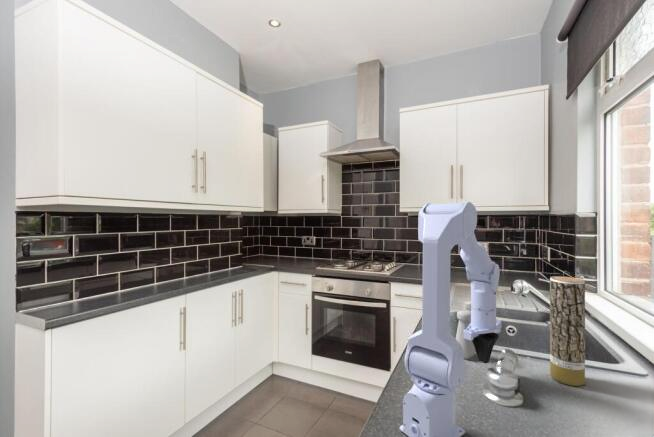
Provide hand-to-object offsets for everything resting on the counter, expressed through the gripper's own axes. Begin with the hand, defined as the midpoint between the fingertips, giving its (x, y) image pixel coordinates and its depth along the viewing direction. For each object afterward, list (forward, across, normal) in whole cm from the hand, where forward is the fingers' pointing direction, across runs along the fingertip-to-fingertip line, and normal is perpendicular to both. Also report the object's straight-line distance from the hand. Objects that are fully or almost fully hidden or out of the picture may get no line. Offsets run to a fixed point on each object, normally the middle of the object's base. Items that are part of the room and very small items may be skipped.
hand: (483, 361), depth 78 cm
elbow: (+1, -1, -5) cm, 6 cm away
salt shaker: (+4, +7, +9) cm, 12 cm away
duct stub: (+4, -5, -7) cm, 9 cm away
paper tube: (+4, +15, -13) cm, 20 cm away
